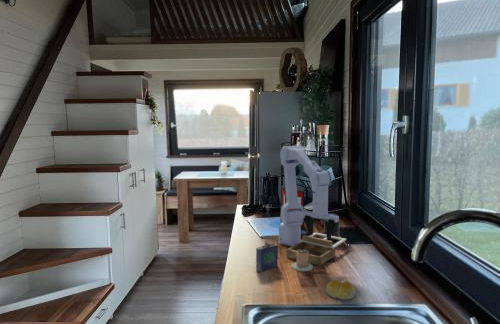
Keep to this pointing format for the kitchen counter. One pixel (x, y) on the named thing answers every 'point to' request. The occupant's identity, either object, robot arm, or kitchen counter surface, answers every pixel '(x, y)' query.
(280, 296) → the kitchen counter surface
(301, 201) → the cleaning product box
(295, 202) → the robot arm
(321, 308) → the kitchen counter surface
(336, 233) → the supplement bottle
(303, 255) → the brown cylinder
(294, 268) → the saucer
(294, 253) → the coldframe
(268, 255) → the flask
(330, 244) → the frame
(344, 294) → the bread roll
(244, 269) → the kitchen counter surface
